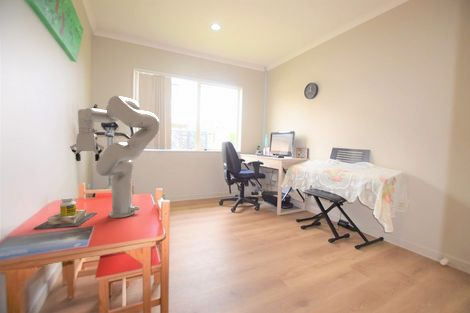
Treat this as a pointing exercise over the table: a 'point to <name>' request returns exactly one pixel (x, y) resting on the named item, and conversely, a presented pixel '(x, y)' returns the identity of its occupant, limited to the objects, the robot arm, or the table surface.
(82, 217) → the grey square base
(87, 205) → the table surface
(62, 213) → the pill bottle
